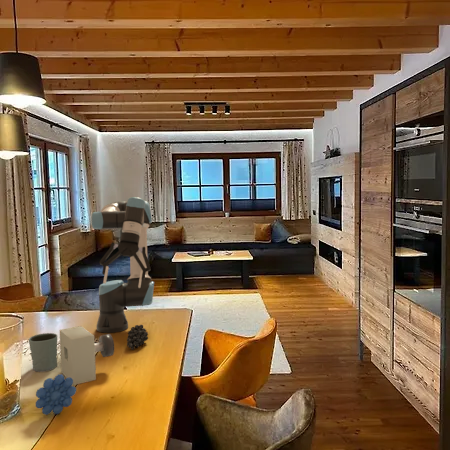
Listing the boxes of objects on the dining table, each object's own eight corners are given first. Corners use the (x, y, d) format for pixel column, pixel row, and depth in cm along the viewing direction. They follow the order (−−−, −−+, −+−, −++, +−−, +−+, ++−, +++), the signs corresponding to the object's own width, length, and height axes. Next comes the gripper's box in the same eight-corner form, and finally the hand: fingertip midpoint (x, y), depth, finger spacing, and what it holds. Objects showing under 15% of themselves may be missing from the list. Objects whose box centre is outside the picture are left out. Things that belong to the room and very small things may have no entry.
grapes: (77, 404, 145) (75, 367, 144) (77, 414, 138) (75, 375, 137) (37, 410, 141) (35, 372, 140) (35, 420, 135) (33, 380, 134)
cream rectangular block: (61, 371, 172) (59, 329, 171) (82, 367, 177) (81, 326, 176) (73, 385, 160) (71, 339, 159) (95, 379, 164) (94, 335, 163)
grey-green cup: (64, 364, 180) (62, 334, 179) (46, 374, 170) (44, 342, 170) (43, 361, 183) (41, 332, 182) (24, 371, 174) (22, 339, 173)
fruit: (133, 331, 191) (146, 320, 206) (115, 336, 193) (129, 325, 208) (140, 350, 191) (152, 338, 206) (122, 355, 193) (136, 343, 208)
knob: (78, 358, 172) (77, 337, 171) (107, 352, 178) (106, 331, 178) (85, 364, 165) (84, 342, 165) (114, 357, 172) (113, 336, 171)
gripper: (98, 227, 184) (88, 279, 177) (161, 235, 187) (153, 287, 180) (100, 232, 191) (91, 282, 184) (161, 240, 194) (153, 290, 187)
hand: (121, 285), depth 182 cm, fingers open, 13 cm apart
